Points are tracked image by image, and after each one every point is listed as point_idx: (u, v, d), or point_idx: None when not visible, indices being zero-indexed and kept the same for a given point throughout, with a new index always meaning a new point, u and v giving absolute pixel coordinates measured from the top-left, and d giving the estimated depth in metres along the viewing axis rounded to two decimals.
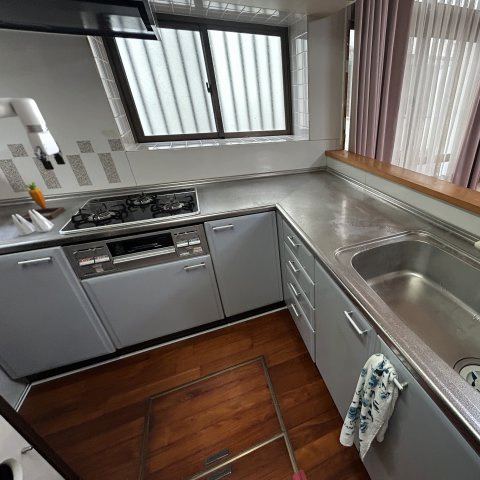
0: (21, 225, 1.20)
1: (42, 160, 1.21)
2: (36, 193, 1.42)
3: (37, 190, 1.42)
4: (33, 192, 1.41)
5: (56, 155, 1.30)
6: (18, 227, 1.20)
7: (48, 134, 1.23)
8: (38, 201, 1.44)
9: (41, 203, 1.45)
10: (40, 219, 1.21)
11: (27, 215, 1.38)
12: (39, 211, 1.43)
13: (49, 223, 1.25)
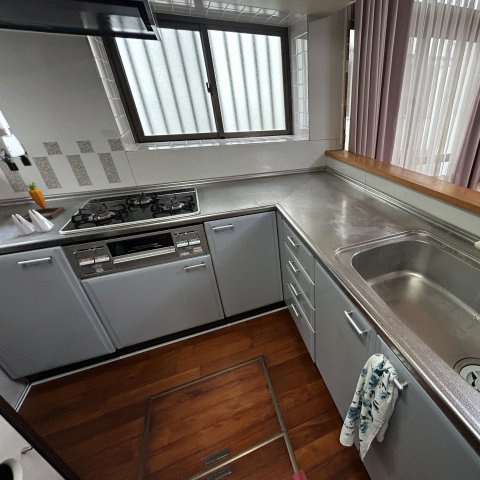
0: (21, 225, 1.20)
1: (7, 162, 1.29)
2: (36, 193, 1.42)
3: (37, 190, 1.42)
4: (33, 192, 1.41)
5: (22, 157, 1.38)
6: (18, 227, 1.20)
7: (13, 137, 1.31)
8: (38, 201, 1.44)
9: (41, 203, 1.45)
10: (40, 219, 1.21)
11: (27, 215, 1.38)
12: (39, 211, 1.43)
13: (49, 223, 1.25)
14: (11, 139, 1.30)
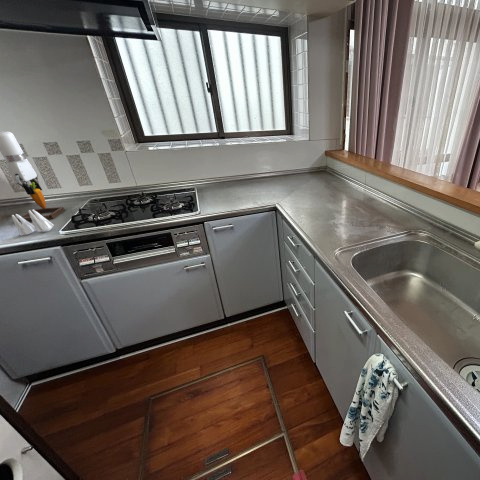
0: (21, 225, 1.20)
1: (24, 186, 1.37)
2: (36, 193, 1.42)
3: (37, 190, 1.42)
4: None
5: None
6: (18, 227, 1.20)
7: (26, 162, 1.37)
8: (38, 201, 1.44)
9: (41, 203, 1.45)
10: (40, 219, 1.21)
11: (27, 215, 1.38)
12: (39, 211, 1.43)
13: (49, 223, 1.25)
14: (24, 164, 1.36)
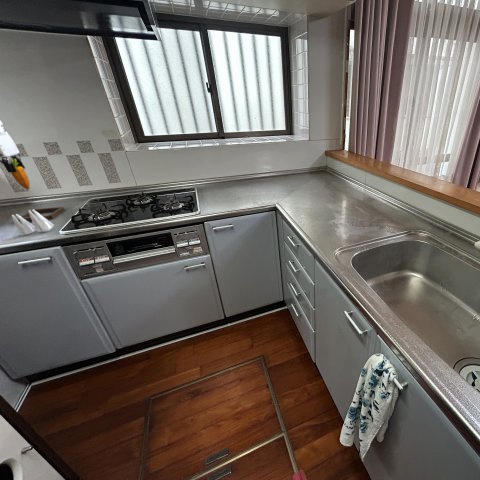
0: (21, 225, 1.20)
1: (4, 163, 1.22)
2: (18, 171, 1.27)
3: (19, 168, 1.28)
4: None
5: None
6: (18, 227, 1.20)
7: (6, 135, 1.23)
8: (21, 180, 1.29)
9: (24, 183, 1.30)
10: (40, 219, 1.21)
11: (27, 215, 1.38)
12: (39, 211, 1.43)
13: (49, 223, 1.25)
14: (4, 137, 1.21)
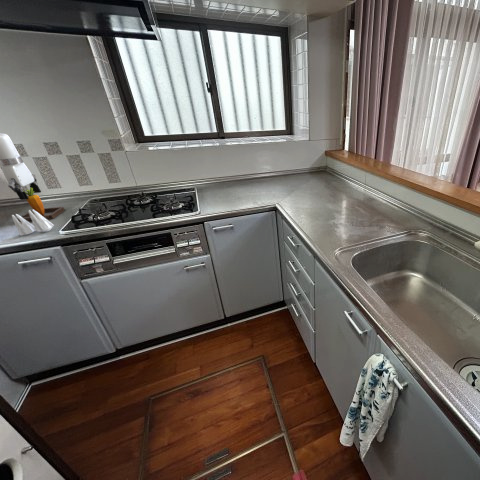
0: (21, 225, 1.20)
1: (16, 191, 1.27)
2: (34, 199, 1.34)
3: (35, 196, 1.34)
4: (31, 198, 1.33)
5: (32, 184, 1.36)
6: (18, 227, 1.20)
7: (23, 166, 1.29)
8: (36, 208, 1.36)
9: (39, 210, 1.37)
10: (40, 219, 1.21)
11: (27, 215, 1.38)
12: None
13: (49, 223, 1.25)
14: (21, 168, 1.28)
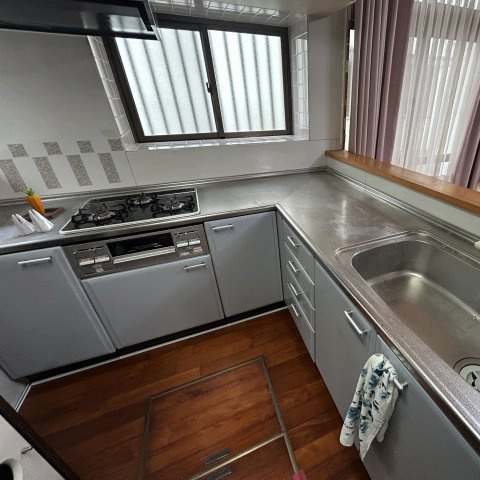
0: (21, 225, 1.20)
1: None
2: (34, 199, 1.34)
3: (35, 196, 1.34)
4: (31, 198, 1.33)
5: None
6: (18, 227, 1.20)
7: None
8: (36, 208, 1.36)
9: (39, 210, 1.37)
10: (40, 219, 1.21)
11: (27, 215, 1.38)
12: None
13: (49, 223, 1.25)
14: None
